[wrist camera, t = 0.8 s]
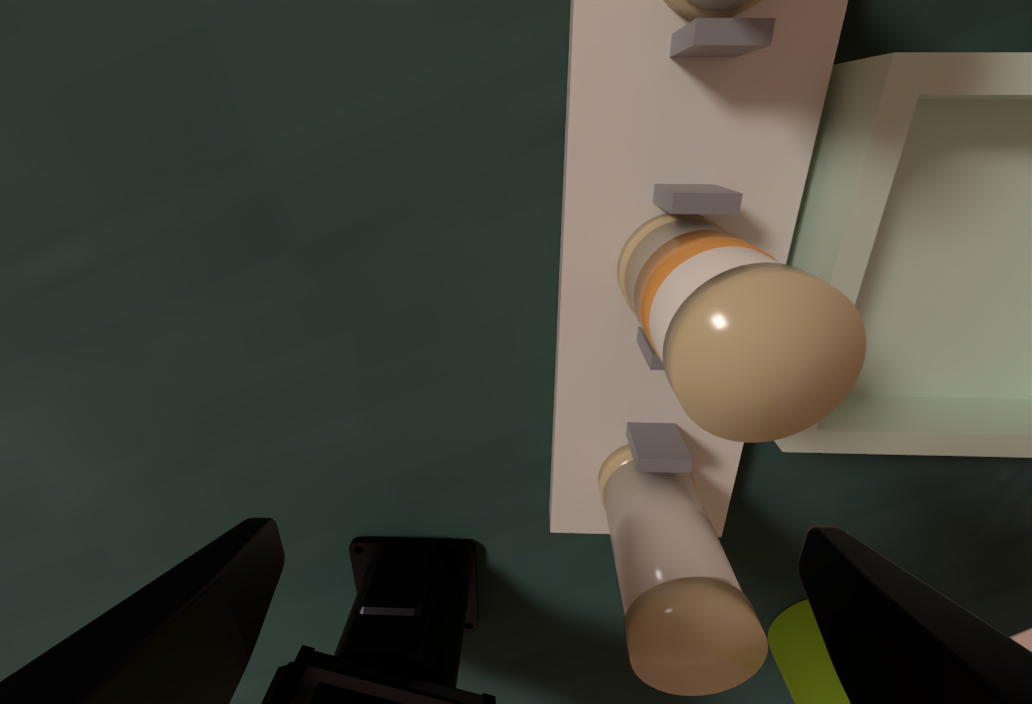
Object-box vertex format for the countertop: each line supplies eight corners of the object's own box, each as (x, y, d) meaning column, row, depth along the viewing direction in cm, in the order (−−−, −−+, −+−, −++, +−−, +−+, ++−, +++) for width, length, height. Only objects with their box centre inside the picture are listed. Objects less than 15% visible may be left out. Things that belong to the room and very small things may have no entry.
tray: (1025, 410, 22) (1110, 459, 18) (746, 404, 22) (782, 452, 19) (1198, 66, 16) (1361, 52, 13) (824, 66, 16) (894, 52, 13)
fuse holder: (710, 514, 25) (741, 581, 21) (549, 509, 25) (552, 576, 21) (865, -193, 14) (984, -307, 10) (578, -190, 14) (594, -298, 10)
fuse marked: (718, 320, 19) (836, 444, 11) (612, 318, 19) (662, 440, 12) (739, 212, 17) (892, 276, 10) (622, 210, 17) (687, 273, 10)
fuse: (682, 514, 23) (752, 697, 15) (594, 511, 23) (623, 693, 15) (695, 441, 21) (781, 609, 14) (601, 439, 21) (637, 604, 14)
